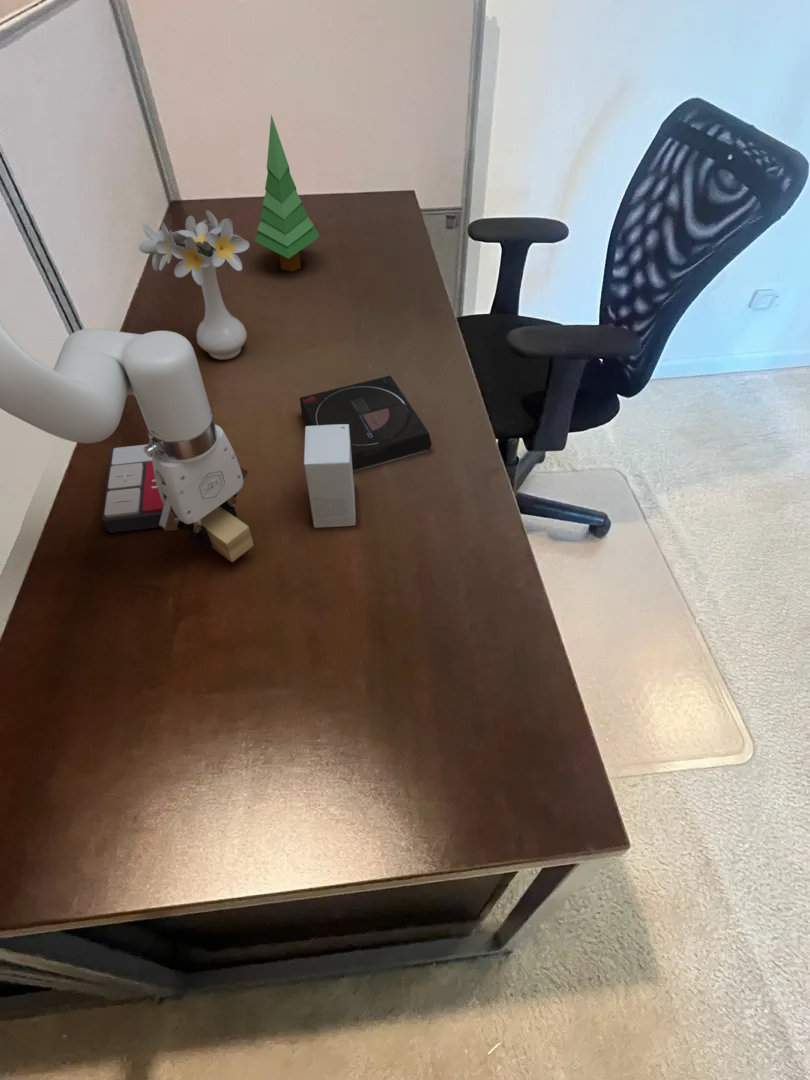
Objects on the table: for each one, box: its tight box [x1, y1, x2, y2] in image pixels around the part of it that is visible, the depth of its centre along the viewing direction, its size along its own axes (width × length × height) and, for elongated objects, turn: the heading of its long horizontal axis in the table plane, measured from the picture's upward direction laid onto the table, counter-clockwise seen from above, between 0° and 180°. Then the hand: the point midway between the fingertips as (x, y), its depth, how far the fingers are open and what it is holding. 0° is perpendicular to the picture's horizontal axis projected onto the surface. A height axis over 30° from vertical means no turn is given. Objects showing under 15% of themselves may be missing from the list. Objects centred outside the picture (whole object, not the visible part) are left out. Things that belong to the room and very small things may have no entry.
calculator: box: [101, 443, 177, 534], centre depth 102 cm, size 11×4×15 cm
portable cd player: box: [299, 375, 433, 473], centre depth 111 cm, size 16×17×4 cm
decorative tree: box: [254, 114, 320, 272], centre depth 139 cm, size 14×16×30 cm
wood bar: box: [201, 506, 255, 563], centre depth 93 cm, size 11×4×4 cm, turn 50°
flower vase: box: [138, 209, 250, 361], centre depth 119 cm, size 13×18×25 cm
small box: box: [303, 424, 357, 529], centre depth 97 cm, size 8×6×13 cm
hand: (216, 532), depth 94 cm, fingers closed on wood bar, 4 cm apart
